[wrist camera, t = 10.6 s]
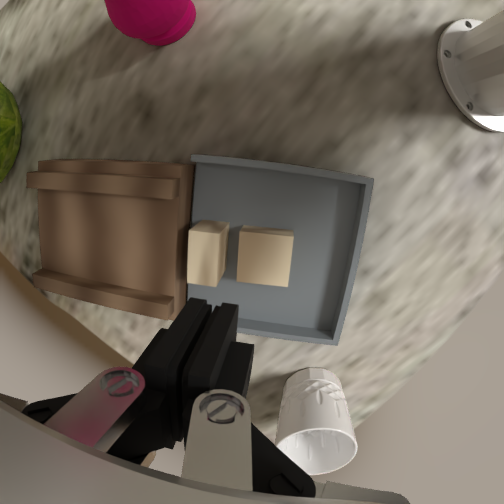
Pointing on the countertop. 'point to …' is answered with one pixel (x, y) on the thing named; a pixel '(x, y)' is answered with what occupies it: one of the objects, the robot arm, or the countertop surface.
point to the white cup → (315, 422)
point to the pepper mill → (152, 19)
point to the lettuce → (8, 130)
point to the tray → (304, 243)
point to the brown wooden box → (115, 232)
